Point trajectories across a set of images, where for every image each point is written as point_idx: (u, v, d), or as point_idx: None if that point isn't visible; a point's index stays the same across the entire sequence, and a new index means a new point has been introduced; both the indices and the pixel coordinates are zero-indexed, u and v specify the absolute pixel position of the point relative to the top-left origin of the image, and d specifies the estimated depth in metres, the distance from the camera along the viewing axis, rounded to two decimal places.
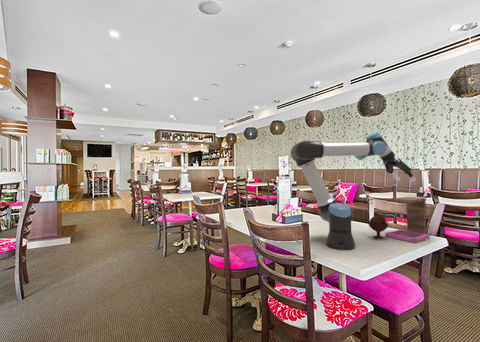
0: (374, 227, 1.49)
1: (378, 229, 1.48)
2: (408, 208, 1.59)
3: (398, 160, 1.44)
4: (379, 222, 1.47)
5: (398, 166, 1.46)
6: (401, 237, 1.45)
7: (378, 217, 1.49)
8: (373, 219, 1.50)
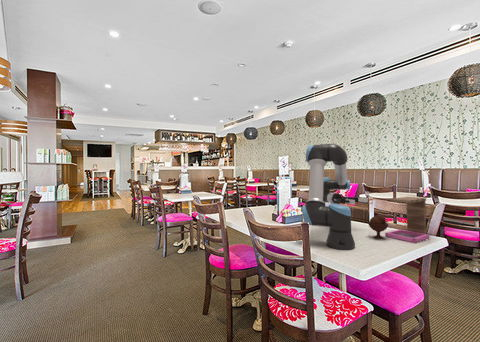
0: (374, 227, 1.49)
1: (378, 229, 1.48)
2: (408, 208, 1.59)
3: None
4: (379, 222, 1.47)
5: (350, 197, 1.74)
6: (401, 237, 1.45)
7: (378, 217, 1.49)
8: (373, 219, 1.50)
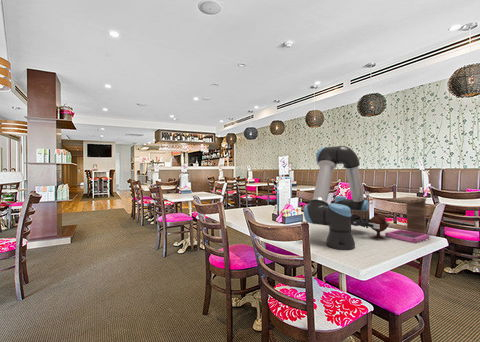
0: None
1: (378, 229, 1.48)
2: (408, 208, 1.59)
3: None
4: (379, 222, 1.47)
5: None
6: (401, 237, 1.45)
7: (378, 217, 1.49)
8: (373, 219, 1.50)
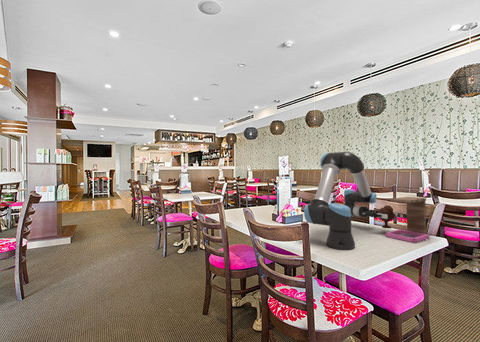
0: None
1: (386, 219, 1.58)
2: (408, 208, 1.59)
3: None
4: (387, 212, 1.58)
5: (377, 211, 1.71)
6: (401, 237, 1.45)
7: (386, 208, 1.59)
8: (381, 210, 1.60)
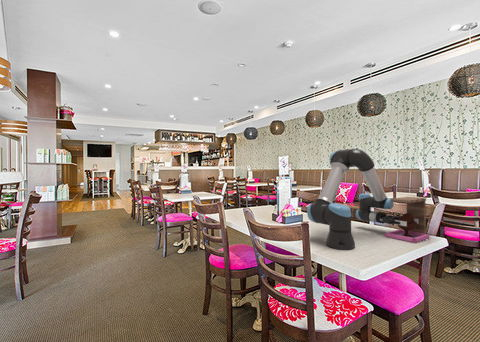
0: (403, 226, 1.48)
1: (407, 228, 1.47)
2: (408, 208, 1.59)
3: None
4: (408, 221, 1.47)
5: (396, 217, 1.60)
6: (401, 237, 1.45)
7: (407, 216, 1.48)
8: (402, 218, 1.49)
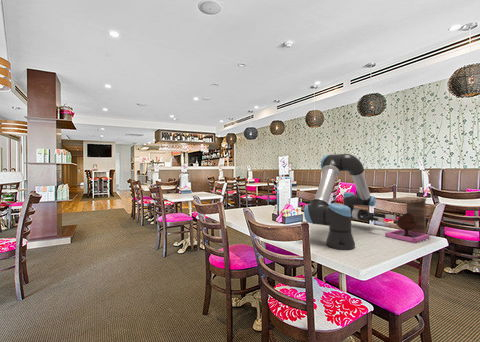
0: (403, 226, 1.48)
1: (407, 228, 1.47)
2: (408, 208, 1.59)
3: None
4: (408, 221, 1.47)
5: (376, 214, 1.72)
6: (401, 237, 1.45)
7: (407, 216, 1.48)
8: (402, 218, 1.49)
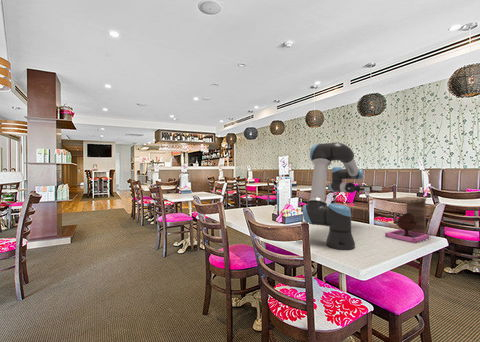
0: (403, 226, 1.48)
1: (407, 228, 1.47)
2: (408, 208, 1.59)
3: None
4: (408, 221, 1.47)
5: (363, 186, 1.74)
6: (401, 237, 1.45)
7: (407, 216, 1.48)
8: (402, 218, 1.49)
